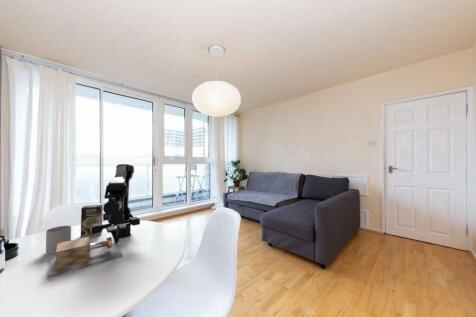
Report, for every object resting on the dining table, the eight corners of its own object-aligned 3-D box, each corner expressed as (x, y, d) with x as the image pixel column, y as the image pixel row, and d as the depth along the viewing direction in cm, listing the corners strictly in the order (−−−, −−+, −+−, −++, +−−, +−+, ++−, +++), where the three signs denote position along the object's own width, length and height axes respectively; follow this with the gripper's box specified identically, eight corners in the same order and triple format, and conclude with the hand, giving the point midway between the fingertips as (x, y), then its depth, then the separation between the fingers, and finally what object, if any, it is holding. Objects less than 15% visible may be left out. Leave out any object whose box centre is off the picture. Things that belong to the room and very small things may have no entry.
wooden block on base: (116, 244, 94) (116, 229, 94) (122, 256, 82) (122, 239, 82) (50, 260, 78) (51, 242, 79) (47, 278, 66) (47, 256, 67)
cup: (55, 255, 82) (55, 232, 82) (40, 254, 84) (41, 231, 84) (75, 247, 91) (75, 226, 91) (61, 245, 92) (62, 225, 92)
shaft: (110, 245, 87) (110, 235, 87) (111, 249, 84) (111, 238, 84) (71, 255, 78) (71, 243, 78) (71, 259, 75) (71, 247, 75)
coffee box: (80, 238, 101) (80, 208, 101) (82, 234, 106) (83, 205, 106) (101, 235, 105) (101, 206, 105) (102, 231, 111) (103, 204, 111)
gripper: (134, 203, 99) (134, 233, 99) (89, 209, 87) (89, 243, 87) (140, 207, 91) (140, 239, 91) (91, 214, 79) (91, 252, 78)
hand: (116, 243), depth 87 cm, fingers closed
